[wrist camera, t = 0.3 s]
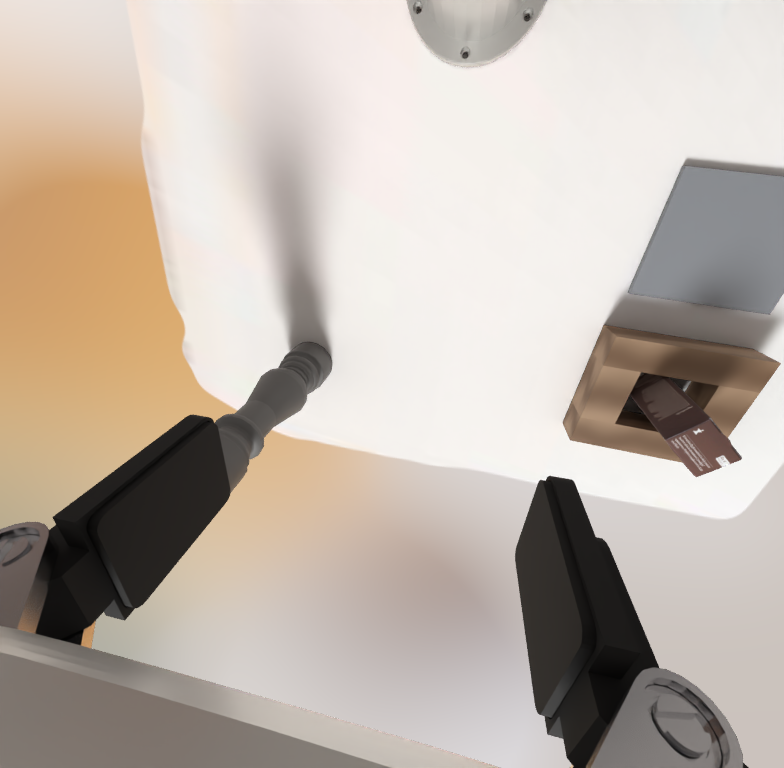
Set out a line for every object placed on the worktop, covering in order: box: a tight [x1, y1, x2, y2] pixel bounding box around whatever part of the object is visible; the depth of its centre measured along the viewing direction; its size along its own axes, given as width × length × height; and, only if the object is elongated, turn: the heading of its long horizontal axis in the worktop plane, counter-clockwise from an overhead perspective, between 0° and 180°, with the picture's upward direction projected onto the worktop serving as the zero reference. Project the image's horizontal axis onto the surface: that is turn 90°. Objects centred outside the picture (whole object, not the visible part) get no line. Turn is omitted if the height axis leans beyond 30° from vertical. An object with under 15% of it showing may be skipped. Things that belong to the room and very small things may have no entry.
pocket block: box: [563, 325, 781, 463], centre depth 42 cm, size 14×16×4 cm
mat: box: [628, 166, 784, 314], centre depth 35 cm, size 12×14×1 cm
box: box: [630, 372, 742, 477], centre depth 38 cm, size 6×4×12 cm
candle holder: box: [215, 342, 332, 493], centre depth 40 cm, size 6×6×25 cm
